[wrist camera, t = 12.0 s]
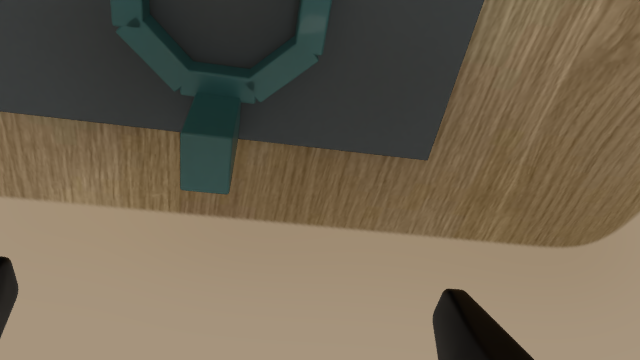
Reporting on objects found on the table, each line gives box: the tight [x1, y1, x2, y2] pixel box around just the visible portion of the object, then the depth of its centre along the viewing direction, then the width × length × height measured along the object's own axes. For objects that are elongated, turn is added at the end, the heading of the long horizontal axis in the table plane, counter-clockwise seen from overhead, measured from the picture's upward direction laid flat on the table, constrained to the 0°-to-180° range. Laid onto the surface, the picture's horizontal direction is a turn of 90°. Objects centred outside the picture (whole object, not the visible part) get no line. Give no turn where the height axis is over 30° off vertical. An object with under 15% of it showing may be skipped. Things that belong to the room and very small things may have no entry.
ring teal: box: [110, 0, 332, 194], centre depth 14 cm, size 9×7×4 cm
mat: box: [0, 0, 484, 160], centre depth 16 cm, size 18×9×1 cm, turn 80°
